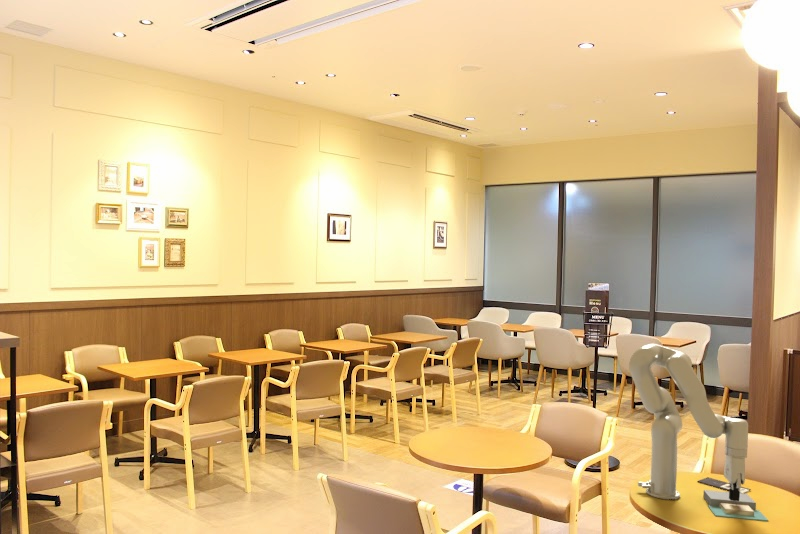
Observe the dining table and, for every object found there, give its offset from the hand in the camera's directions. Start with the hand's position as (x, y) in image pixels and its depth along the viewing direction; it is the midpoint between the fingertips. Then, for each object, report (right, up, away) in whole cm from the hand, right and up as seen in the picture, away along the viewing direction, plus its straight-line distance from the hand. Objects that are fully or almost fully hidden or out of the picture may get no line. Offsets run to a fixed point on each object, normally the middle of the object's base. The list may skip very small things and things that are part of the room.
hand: (734, 499), depth 251 cm
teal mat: (-1, -4, -4) cm, 6 cm away
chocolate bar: (+9, -4, +27) cm, 29 cm away
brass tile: (0, -3, -3) cm, 4 cm away
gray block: (+1, -4, +6) cm, 7 cm away
